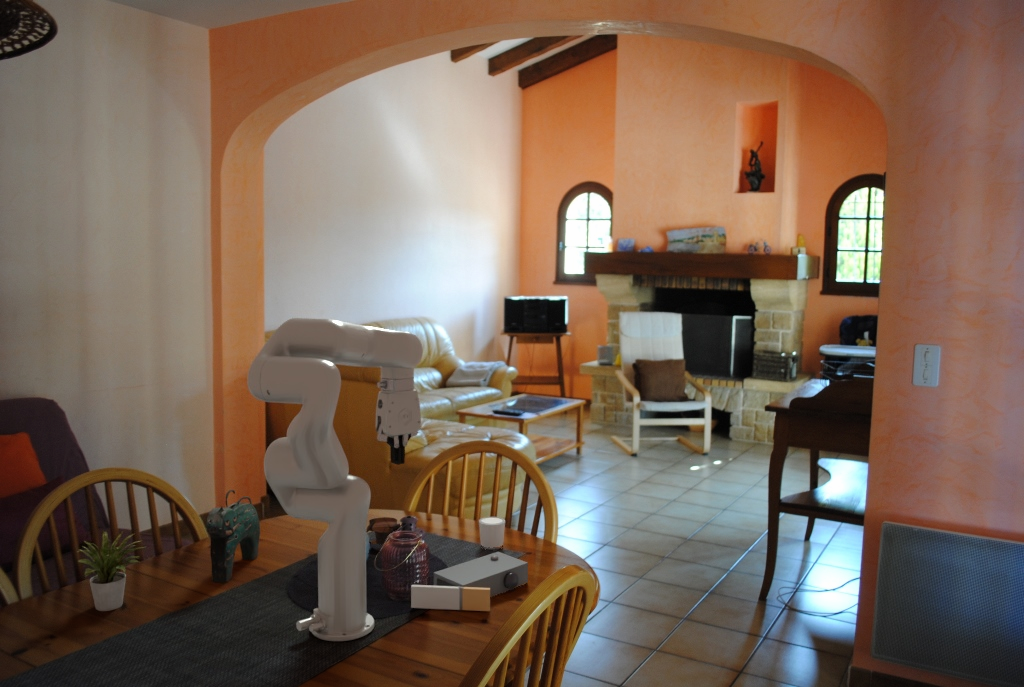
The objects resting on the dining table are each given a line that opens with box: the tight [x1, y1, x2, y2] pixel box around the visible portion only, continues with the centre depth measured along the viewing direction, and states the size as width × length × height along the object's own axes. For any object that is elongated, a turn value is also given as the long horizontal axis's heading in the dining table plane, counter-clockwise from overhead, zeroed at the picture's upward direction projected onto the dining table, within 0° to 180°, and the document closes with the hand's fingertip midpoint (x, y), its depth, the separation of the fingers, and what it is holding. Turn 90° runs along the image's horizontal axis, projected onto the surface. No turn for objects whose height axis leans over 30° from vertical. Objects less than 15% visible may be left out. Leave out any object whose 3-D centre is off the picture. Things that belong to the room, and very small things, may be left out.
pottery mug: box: [366, 516, 400, 545], centre depth 222 cm, size 12×10×8 cm
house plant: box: [77, 530, 146, 612], centre depth 180 cm, size 14×14×16 cm
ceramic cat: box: [206, 489, 261, 584], centre depth 203 cm, size 20×6×20 cm, turn 171°
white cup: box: [478, 516, 506, 548], centre depth 221 cm, size 7×7×7 cm
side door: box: [410, 584, 491, 612], centre depth 181 cm, size 1×17×5 cm, turn 85°
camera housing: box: [433, 551, 529, 598], centre depth 192 cm, size 20×11×6 cm, turn 134°
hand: (397, 463), depth 197 cm, fingers closed
